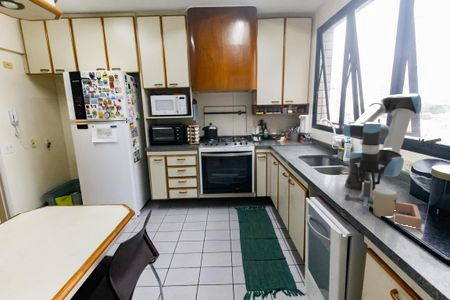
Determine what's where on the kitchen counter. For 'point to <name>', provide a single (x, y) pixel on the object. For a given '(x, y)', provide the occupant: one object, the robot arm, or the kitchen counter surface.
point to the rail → (357, 199)
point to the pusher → (366, 195)
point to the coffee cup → (384, 201)
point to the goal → (408, 220)
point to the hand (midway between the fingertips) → (366, 195)
